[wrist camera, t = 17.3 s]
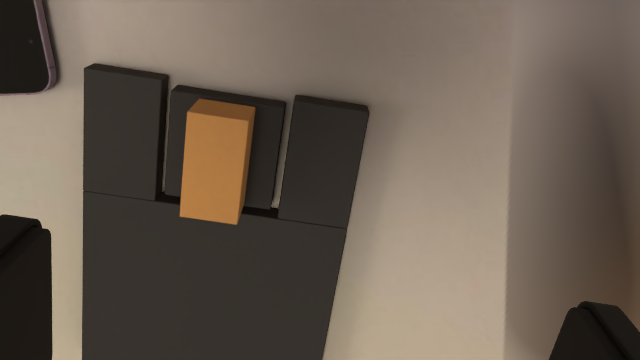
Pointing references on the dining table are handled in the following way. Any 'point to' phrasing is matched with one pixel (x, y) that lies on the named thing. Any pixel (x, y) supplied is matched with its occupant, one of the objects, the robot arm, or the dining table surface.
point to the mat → (208, 236)
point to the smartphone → (25, 49)
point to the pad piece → (222, 152)
